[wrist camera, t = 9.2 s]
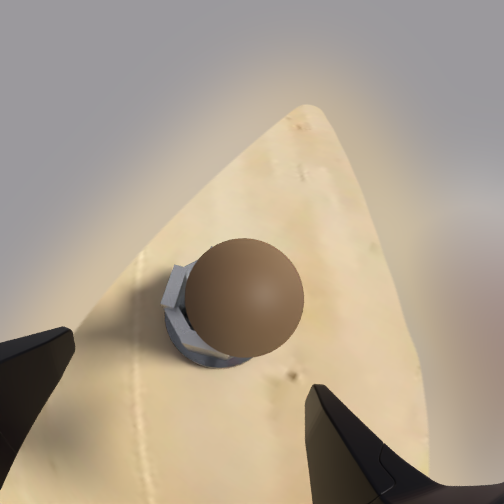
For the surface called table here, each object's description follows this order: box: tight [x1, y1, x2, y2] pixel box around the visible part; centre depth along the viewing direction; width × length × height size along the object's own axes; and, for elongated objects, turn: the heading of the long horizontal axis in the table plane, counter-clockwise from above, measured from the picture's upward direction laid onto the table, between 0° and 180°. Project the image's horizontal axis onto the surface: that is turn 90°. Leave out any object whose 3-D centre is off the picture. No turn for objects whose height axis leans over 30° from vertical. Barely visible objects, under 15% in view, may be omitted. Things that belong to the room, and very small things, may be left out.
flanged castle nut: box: [161, 246, 253, 369], centre depth 20 cm, size 9×9×5 cm
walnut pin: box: [185, 238, 304, 358], centre depth 15 cm, size 4×4×14 cm
